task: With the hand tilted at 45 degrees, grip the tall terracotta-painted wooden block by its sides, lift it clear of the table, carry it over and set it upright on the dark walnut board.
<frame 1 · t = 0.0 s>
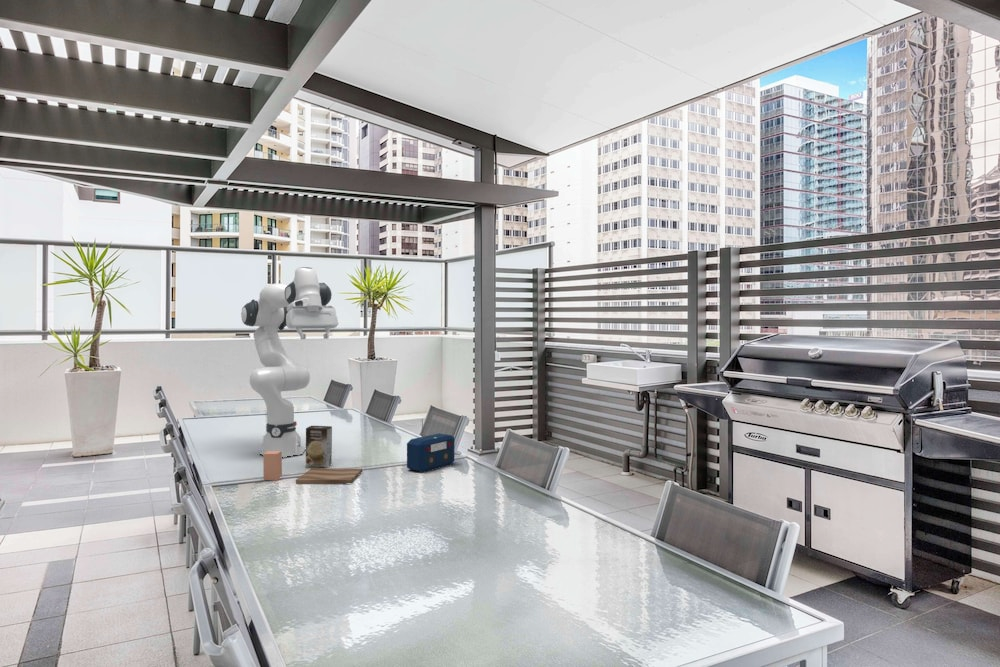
hand: (315, 338, 251), 52 cm above the table, tool tilted 20°, fingers open, 8 cm apart
terracotta block: (272, 479, 239), on the table
coffee box: (318, 466, 260), on the table
radio: (431, 467, 258), on the table
walnut board: (330, 477, 241), on the table
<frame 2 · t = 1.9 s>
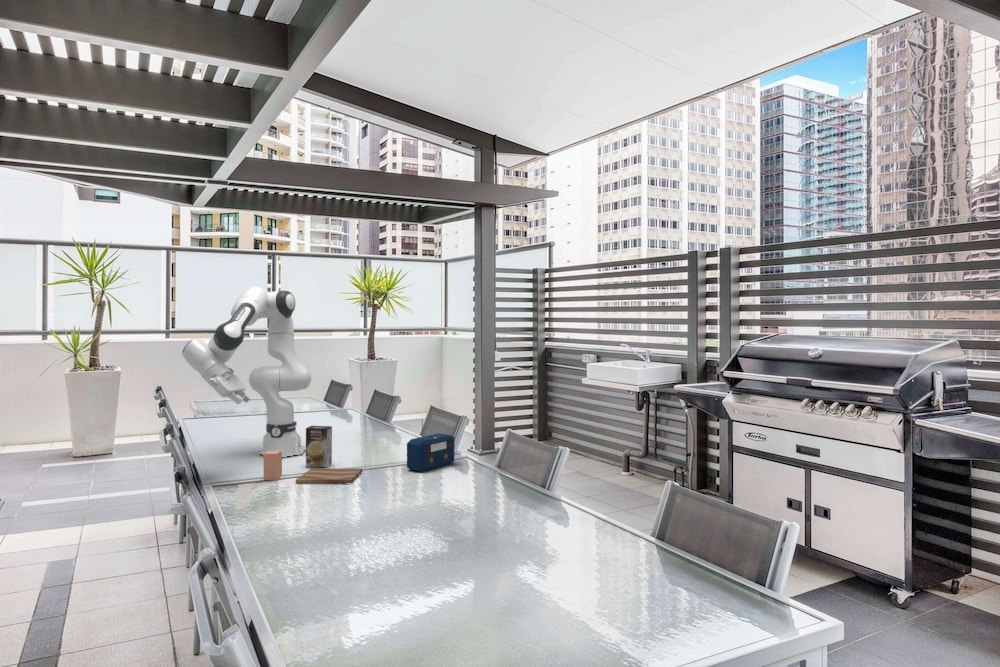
hand: (244, 402, 239), 29 cm above the table, tool tilted 45°, fingers open, 8 cm apart
nothing on the table moved.
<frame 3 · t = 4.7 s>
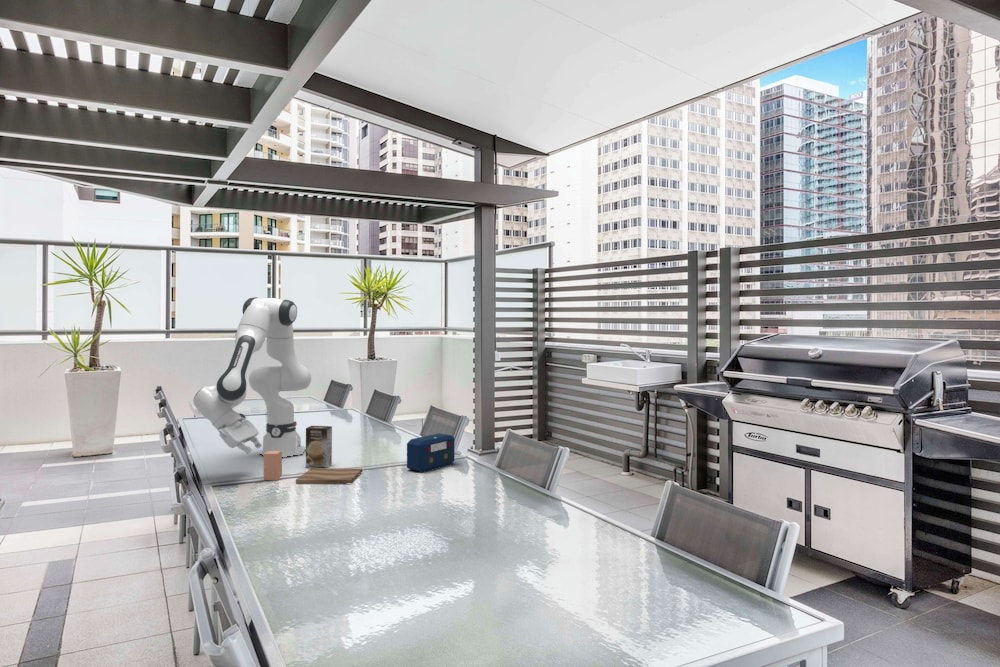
hand: (255, 449, 239), 11 cm above the table, tool tilted 45°, fingers open, 8 cm apart
nothing on the table moved.
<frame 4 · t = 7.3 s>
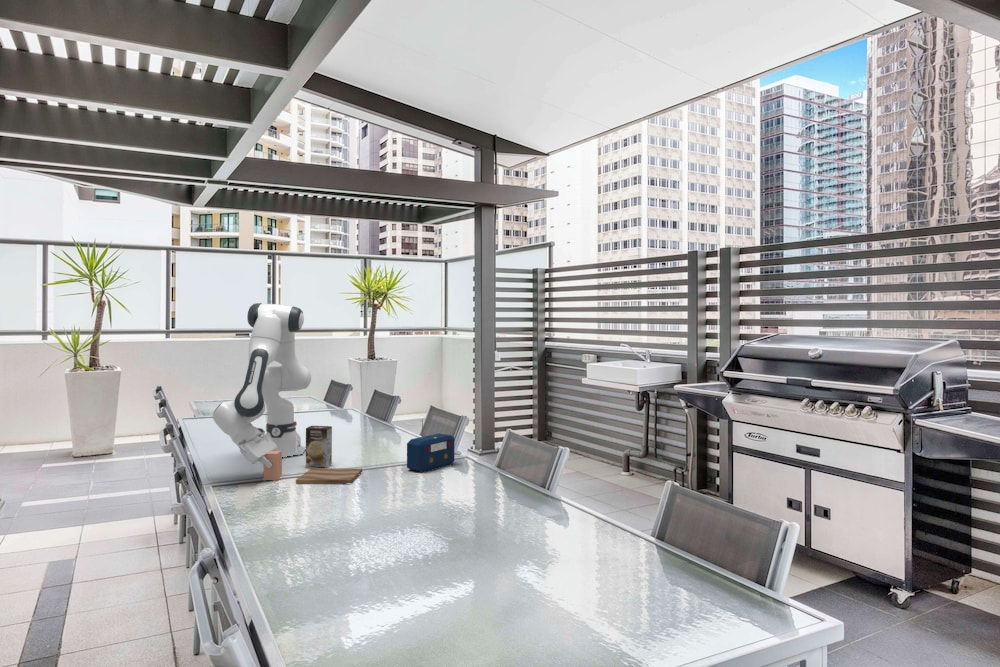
hand: (274, 464, 239), 5 cm above the table, tool tilted 45°, fingers closed on terracotta block, 5 cm apart
terracotta block: (272, 478, 239), on the table, touching gripper
everything else where it was.
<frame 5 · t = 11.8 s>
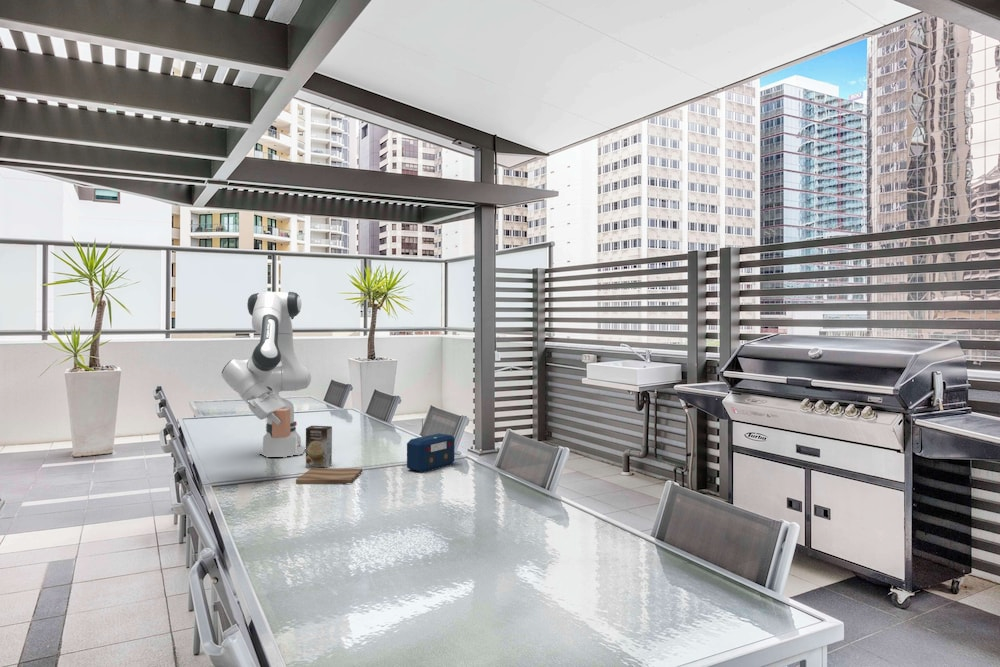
hand: (283, 421, 239), 21 cm above the table, tool tilted 45°, fingers closed on terracotta block, 5 cm apart
terracotta block: (281, 436, 239), point 16 cm above the table, touching gripper
everything else where it was.
when the fingers open (8 cm above the table, at t = 16.4 s): terracotta block drops 1 cm, resting on walnut board.
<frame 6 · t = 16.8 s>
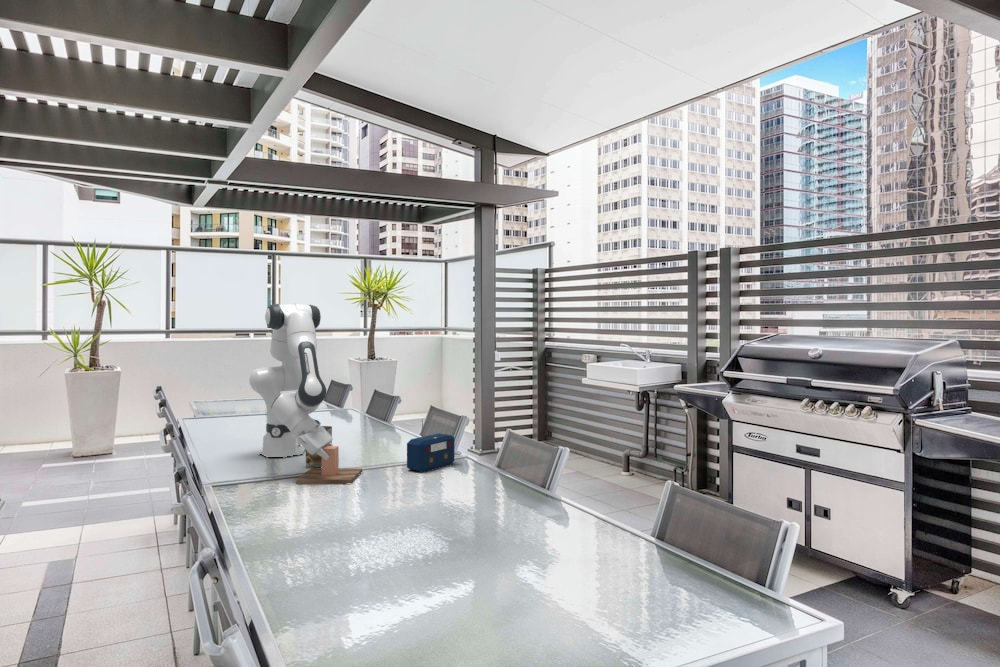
hand: (331, 455, 241), 8 cm above the table, tool tilted 45°, fingers open, 8 cm apart
terracotta block: (330, 473, 241), point 1 cm above the table, touching walnut board
everything else where it was.
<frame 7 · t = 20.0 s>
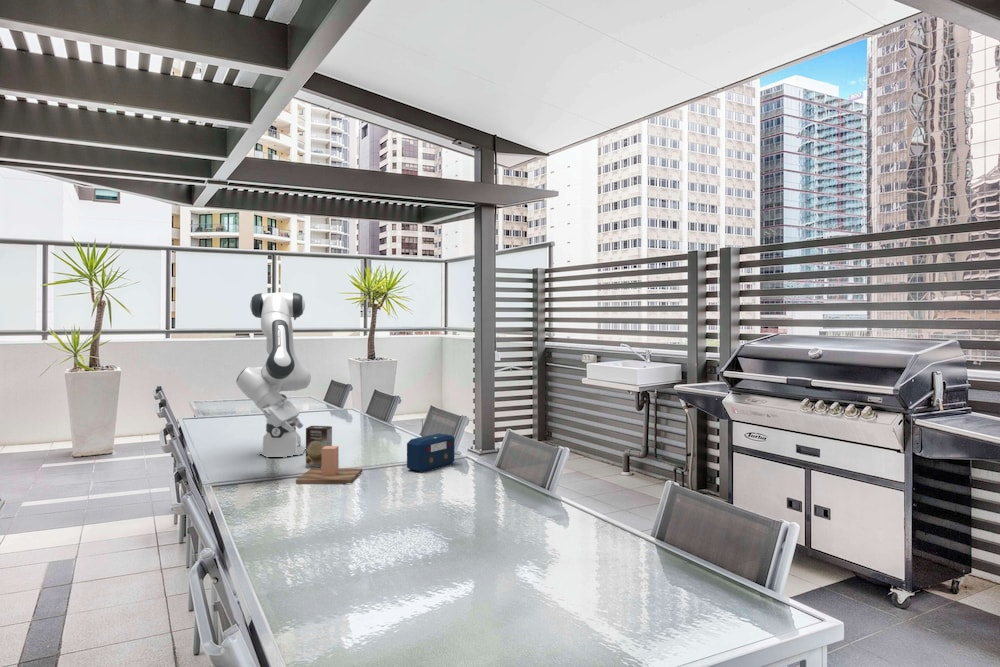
hand: (297, 429, 241), 18 cm above the table, tool tilted 45°, fingers open, 8 cm apart
nothing on the table moved.
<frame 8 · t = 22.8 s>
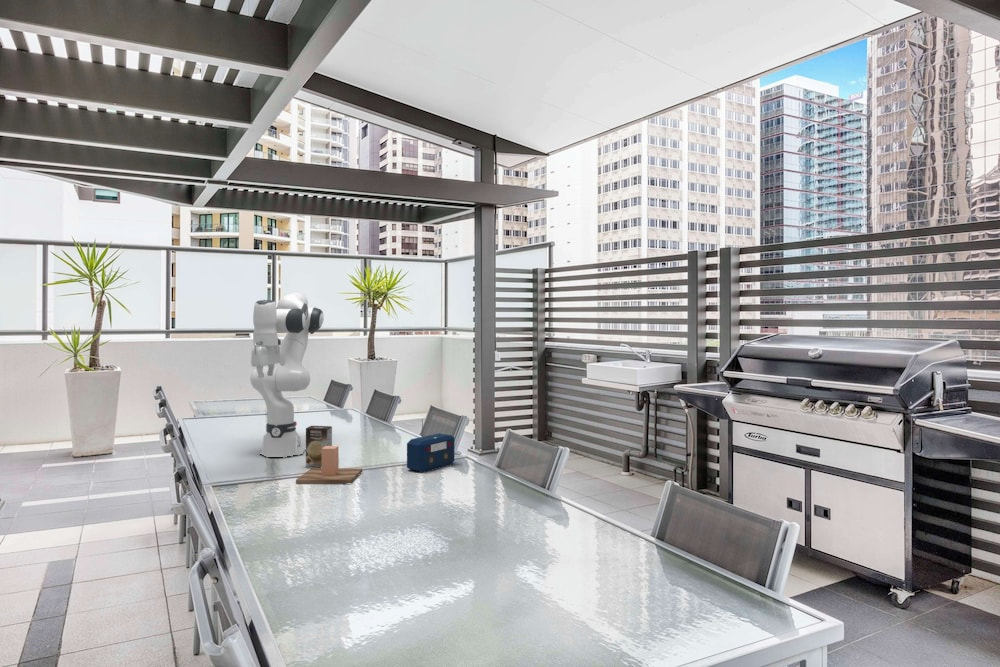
hand: (265, 376, 250), 37 cm above the table, tool pointing down, fingers open, 8 cm apart
nothing on the table moved.
at the end: terracotta block inside the target area on the walnut board (0.1 cm from its centre), point 1.5 cm above the walnut board's base; terracotta block tilted 0°; the gripper is holding nothing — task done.
